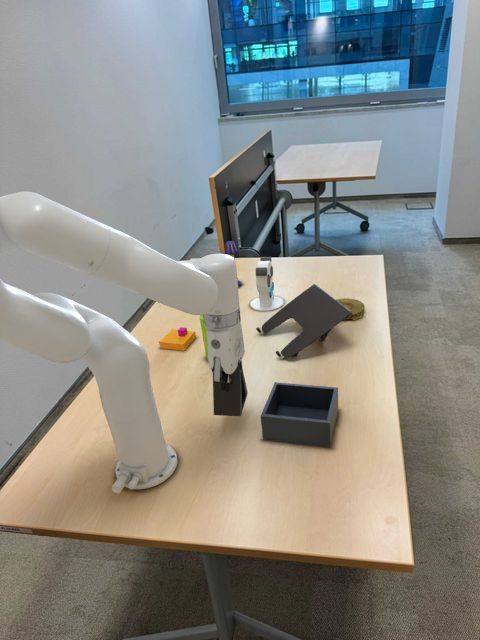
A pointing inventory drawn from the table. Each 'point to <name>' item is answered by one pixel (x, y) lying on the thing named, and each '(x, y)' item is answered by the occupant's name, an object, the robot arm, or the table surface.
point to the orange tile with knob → (178, 339)
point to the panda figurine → (265, 287)
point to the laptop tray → (308, 318)
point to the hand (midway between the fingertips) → (229, 390)
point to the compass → (353, 307)
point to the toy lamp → (232, 253)
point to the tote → (300, 414)
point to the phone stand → (230, 394)
